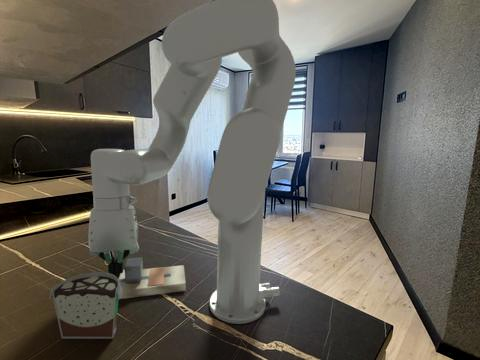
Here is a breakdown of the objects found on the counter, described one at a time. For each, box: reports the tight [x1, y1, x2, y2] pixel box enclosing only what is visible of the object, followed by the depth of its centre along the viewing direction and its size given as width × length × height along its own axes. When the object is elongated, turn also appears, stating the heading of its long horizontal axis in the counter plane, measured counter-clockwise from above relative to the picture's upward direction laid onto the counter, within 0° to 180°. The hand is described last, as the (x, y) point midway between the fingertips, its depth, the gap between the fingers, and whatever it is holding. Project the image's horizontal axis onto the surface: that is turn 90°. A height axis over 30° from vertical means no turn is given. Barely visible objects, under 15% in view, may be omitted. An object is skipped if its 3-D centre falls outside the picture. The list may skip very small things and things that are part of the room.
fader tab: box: [124, 257, 144, 283], centre depth 62 cm, size 4×4×4 cm
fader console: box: [118, 265, 187, 300], centre depth 63 cm, size 22×9×2 cm, turn 105°
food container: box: [48, 271, 122, 339], centre depth 49 cm, size 12×6×10 cm, turn 92°
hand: (116, 276), depth 61 cm, fingers closed
